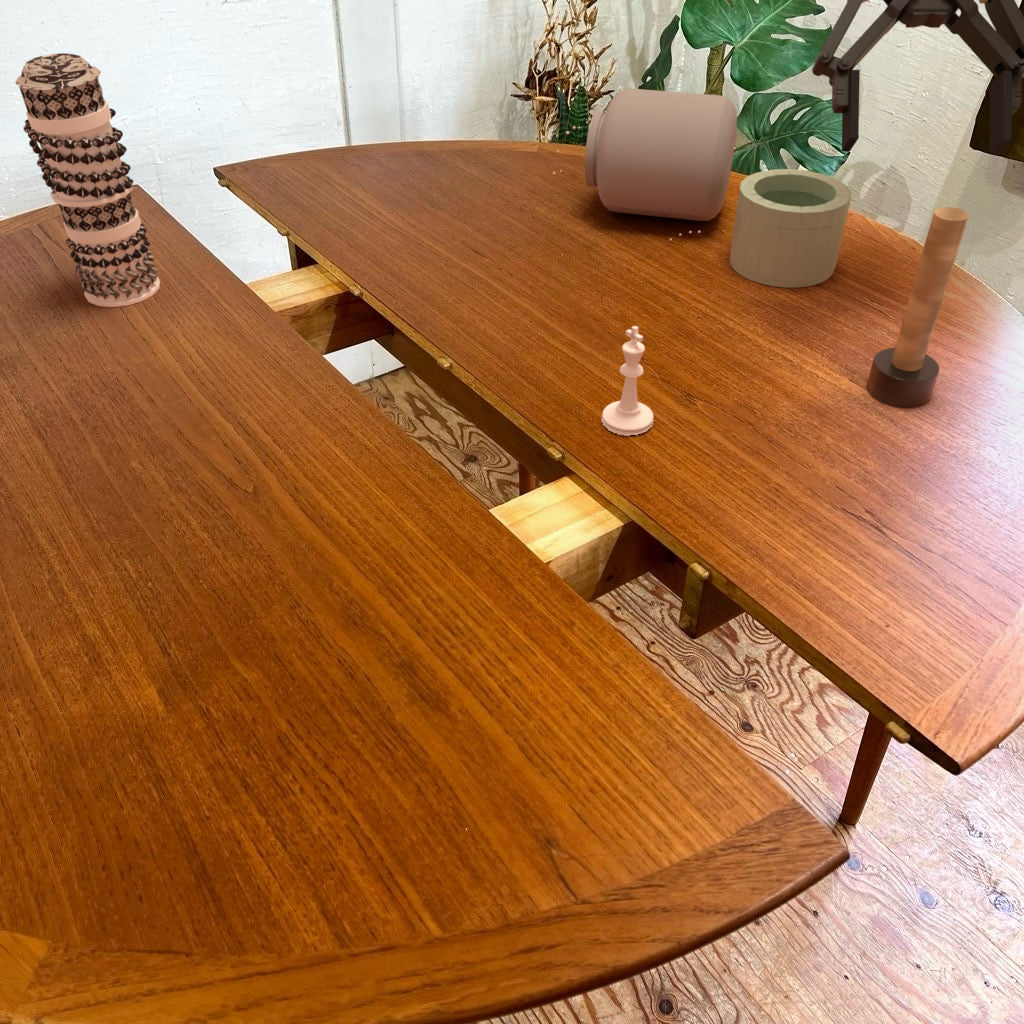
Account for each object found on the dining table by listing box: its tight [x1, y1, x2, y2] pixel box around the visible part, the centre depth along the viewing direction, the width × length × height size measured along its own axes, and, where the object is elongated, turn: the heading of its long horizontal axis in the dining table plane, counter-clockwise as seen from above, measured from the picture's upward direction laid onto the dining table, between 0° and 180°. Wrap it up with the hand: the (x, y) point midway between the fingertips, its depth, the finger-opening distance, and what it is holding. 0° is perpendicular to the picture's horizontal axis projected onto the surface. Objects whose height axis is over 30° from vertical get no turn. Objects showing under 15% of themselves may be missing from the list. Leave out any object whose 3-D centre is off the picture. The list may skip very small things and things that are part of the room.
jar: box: [541, 88, 738, 242], centre depth 122 cm, size 19×15×25 cm
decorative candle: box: [14, 52, 161, 308], centre depth 103 cm, size 9×9×25 cm
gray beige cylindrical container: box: [729, 168, 852, 289], centre depth 111 cm, size 12×12×9 cm
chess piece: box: [600, 325, 655, 437], centre depth 87 cm, size 5×5×10 cm
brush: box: [866, 206, 970, 408], centre depth 88 cm, size 6×6×18 cm
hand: (924, 146), depth 89 cm, fingers open, 13 cm apart
